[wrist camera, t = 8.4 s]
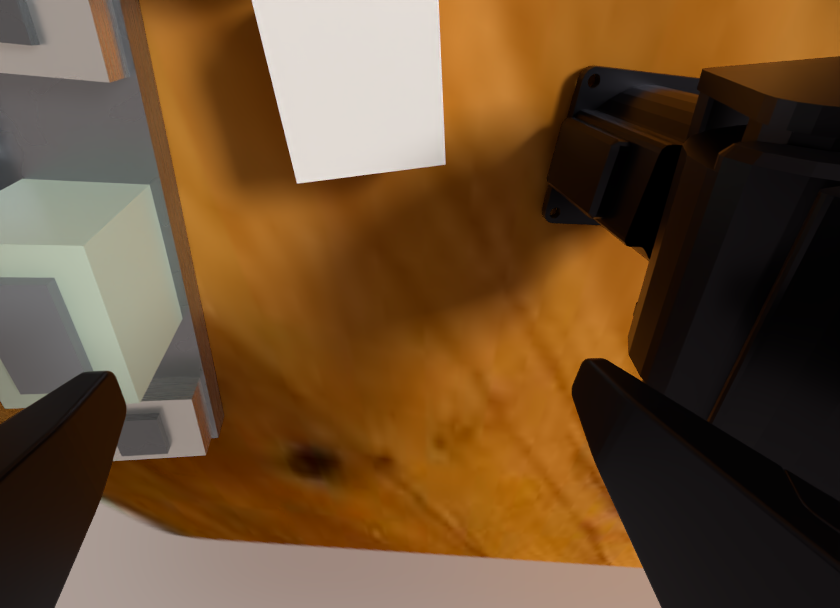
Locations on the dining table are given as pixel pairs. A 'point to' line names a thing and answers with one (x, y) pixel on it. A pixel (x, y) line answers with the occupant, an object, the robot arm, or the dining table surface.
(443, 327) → the dining table surface
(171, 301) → the module
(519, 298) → the dining table surface
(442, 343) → the dining table surface
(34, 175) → the rail
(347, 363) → the dining table surface
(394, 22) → the block
